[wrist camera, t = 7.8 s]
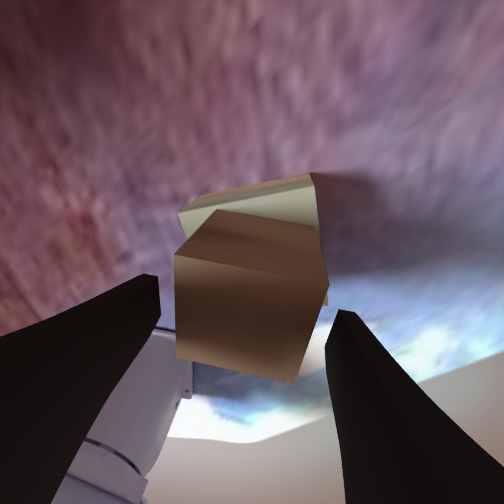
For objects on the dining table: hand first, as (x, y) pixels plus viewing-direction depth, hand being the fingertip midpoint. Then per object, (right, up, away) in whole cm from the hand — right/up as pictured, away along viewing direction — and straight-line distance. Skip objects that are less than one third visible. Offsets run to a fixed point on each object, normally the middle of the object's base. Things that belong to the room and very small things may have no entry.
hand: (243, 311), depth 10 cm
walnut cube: (+1, +2, +3) cm, 4 cm away
